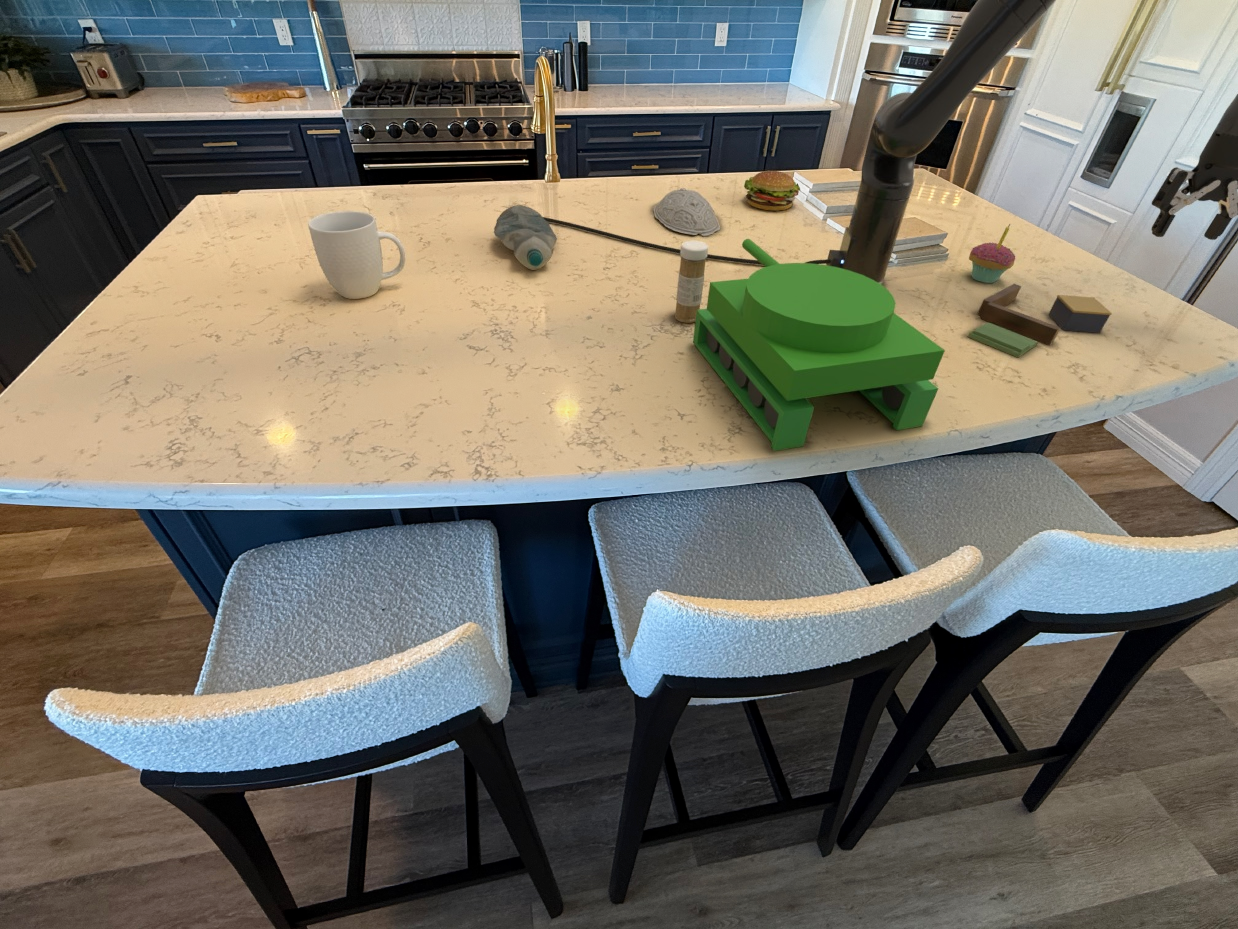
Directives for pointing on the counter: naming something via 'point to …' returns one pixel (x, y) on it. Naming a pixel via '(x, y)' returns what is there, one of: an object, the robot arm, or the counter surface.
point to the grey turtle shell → (687, 213)
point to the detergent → (526, 235)
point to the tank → (813, 346)
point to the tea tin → (1079, 313)
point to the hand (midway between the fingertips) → (1182, 236)
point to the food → (771, 190)
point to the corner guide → (1015, 317)
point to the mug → (352, 252)
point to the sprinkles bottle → (690, 280)
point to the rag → (1002, 339)
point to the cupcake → (991, 260)
